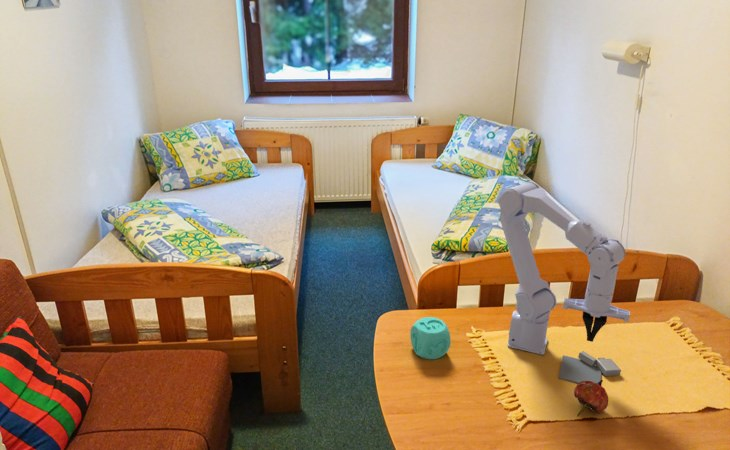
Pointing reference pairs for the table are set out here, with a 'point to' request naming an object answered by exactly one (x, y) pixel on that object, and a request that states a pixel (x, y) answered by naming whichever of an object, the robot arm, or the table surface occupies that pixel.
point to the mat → (578, 371)
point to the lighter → (601, 364)
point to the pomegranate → (591, 396)
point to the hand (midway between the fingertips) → (590, 339)
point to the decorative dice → (430, 338)
